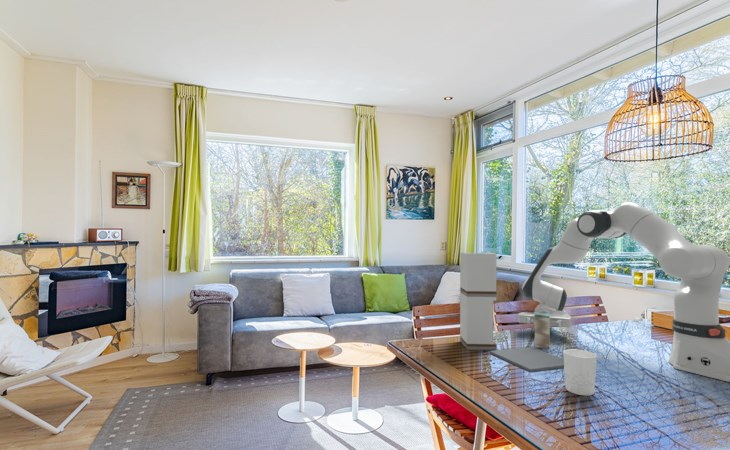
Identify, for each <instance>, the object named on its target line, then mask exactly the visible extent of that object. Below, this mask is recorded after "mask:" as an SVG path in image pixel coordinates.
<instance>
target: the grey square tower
mask: <svg viewBox="0 0 730 450" xmlns="http://www.w3.org/2000/svg"><path fill="white" fill-rule="evenodd" d="M459 254H460V255H459V257H460V260H459V261H460V265H459V267H460V269H459V277H460V278H459V280H460V284H459V288H460V289H459V291H460V292H459V293H460V294H459V295H460V296H459V301H460V302H459V304H460V305H459V313H460V314H459V321H460V322H459V329H460V330H459V333H460V334H459V336H460V337H459V340H460V341H461V342H462V343H461V342H460V343H461V344H462V345H463V346H464V347H466V348H465V349H466V350H471V351H477V350H478V351H480V350H481V351H482V350H483V351H496V350H498V349H497V348H498V347H497V345H498V344H497V343H496V342H495V341H494V302H497V298H498V297H497V293H498V291H497V253H494V252H489V251H488V252H487V251H485V253H484V252H479V253H474V252H464V251H460V252H459Z"/></svg>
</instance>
